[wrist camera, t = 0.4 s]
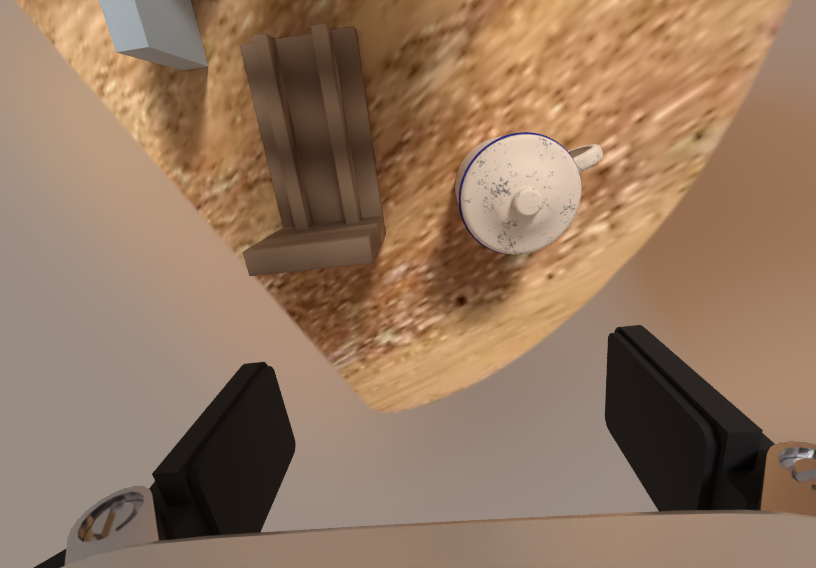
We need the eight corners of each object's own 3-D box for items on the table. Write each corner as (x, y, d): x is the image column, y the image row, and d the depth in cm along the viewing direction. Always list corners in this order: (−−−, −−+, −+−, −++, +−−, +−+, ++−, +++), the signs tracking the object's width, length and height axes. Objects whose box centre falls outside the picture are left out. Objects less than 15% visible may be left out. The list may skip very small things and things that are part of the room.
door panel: (151, -37, 33) (69, -89, 25) (179, -42, 32) (104, -96, 25) (182, 70, 35) (116, 52, 28) (208, 66, 35) (148, 46, 28)
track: (244, 47, 34) (175, 12, 25) (355, 29, 33) (327, -14, 24) (291, 244, 40) (249, 276, 31) (385, 233, 40) (372, 263, 30)
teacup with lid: (474, 246, 40) (491, 286, 29) (436, 162, 37) (440, 171, 26) (591, 193, 37) (658, 216, 26) (559, 99, 34) (620, 81, 24)
